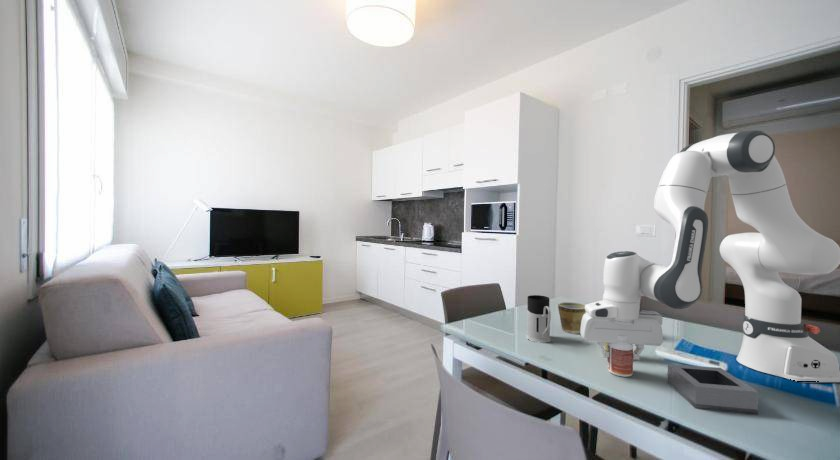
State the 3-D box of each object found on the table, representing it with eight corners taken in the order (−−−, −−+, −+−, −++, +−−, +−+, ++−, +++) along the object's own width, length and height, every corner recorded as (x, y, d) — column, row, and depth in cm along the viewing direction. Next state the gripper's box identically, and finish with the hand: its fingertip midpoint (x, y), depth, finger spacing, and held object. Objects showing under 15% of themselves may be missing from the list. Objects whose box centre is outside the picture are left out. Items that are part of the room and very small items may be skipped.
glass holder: (545, 334, 124) (545, 294, 124) (562, 348, 110) (562, 304, 110) (522, 334, 124) (522, 294, 124) (536, 349, 110) (536, 304, 109)
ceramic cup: (591, 335, 123) (591, 308, 122) (564, 335, 123) (564, 308, 122) (575, 324, 136) (575, 300, 135) (550, 324, 136) (551, 300, 135)
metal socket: (720, 387, 84) (720, 367, 84) (757, 414, 73) (758, 391, 73) (667, 382, 87) (667, 364, 87) (695, 408, 75) (695, 386, 75)
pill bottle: (638, 376, 91) (639, 336, 90) (619, 378, 89) (620, 338, 89) (620, 366, 97) (620, 329, 96) (602, 368, 95) (602, 330, 95)
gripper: (656, 308, 93) (655, 356, 94) (579, 304, 98) (578, 350, 98) (668, 314, 87) (667, 366, 88) (585, 310, 91) (584, 359, 92)
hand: (619, 357), depth 93 cm, fingers closed on pill bottle, 6 cm apart
